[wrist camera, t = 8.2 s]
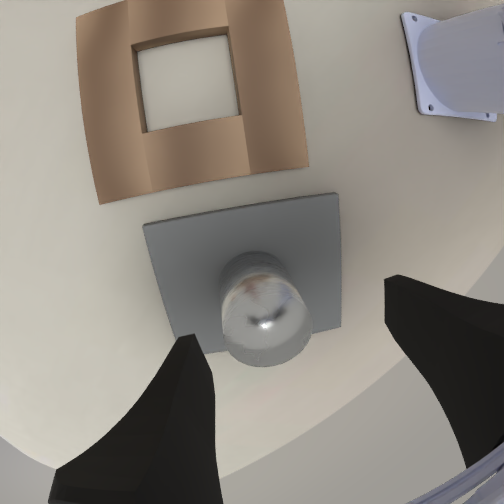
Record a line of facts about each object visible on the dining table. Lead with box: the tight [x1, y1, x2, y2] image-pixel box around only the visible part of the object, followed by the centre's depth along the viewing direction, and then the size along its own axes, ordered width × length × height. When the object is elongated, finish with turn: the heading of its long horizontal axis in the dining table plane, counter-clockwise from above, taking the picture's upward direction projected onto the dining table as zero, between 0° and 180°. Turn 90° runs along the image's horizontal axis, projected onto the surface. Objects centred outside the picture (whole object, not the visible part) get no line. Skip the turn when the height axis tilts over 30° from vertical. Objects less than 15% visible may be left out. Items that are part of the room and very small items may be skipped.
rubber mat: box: [143, 192, 341, 354], centre depth 20 cm, size 12×10×1 cm
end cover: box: [219, 251, 313, 367], centre depth 17 cm, size 4×4×6 cm
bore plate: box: [76, 0, 309, 205], centre depth 14 cm, size 12×12×2 cm
